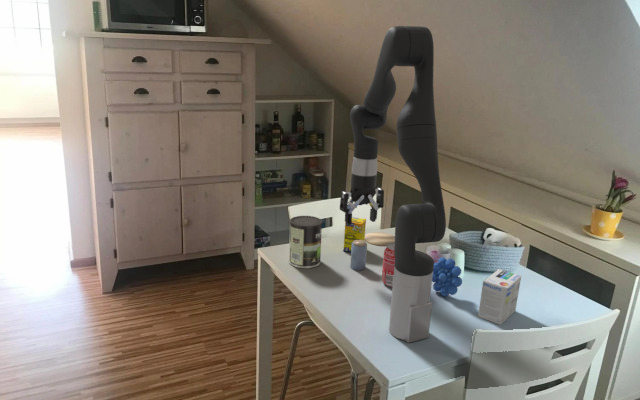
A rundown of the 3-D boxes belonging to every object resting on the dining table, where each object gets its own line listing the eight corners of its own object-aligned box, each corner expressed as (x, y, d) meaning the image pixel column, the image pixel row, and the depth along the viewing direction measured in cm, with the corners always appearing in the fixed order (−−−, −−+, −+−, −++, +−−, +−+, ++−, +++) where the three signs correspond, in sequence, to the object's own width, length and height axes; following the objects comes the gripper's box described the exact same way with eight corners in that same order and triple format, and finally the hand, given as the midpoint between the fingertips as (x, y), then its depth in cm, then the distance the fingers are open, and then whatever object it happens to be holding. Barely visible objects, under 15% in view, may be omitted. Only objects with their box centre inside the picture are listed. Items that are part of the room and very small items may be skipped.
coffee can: (322, 257, 175) (324, 216, 171) (317, 270, 166) (319, 227, 162) (292, 254, 177) (293, 214, 173) (285, 266, 167) (286, 224, 163)
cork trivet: (403, 243, 191) (403, 241, 190) (375, 247, 185) (375, 246, 185) (385, 231, 201) (385, 230, 201) (357, 235, 195) (357, 234, 195)
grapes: (469, 301, 150) (474, 262, 146) (452, 306, 147) (457, 266, 143) (440, 284, 159) (444, 247, 156) (423, 289, 156) (427, 251, 152)
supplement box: (343, 251, 181) (344, 221, 177) (347, 245, 186) (349, 216, 183) (360, 254, 179) (362, 223, 176) (364, 248, 185) (366, 218, 181)
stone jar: (368, 269, 168) (370, 243, 165) (355, 271, 166) (356, 245, 163) (360, 263, 172) (362, 238, 170) (347, 265, 170) (349, 240, 167)
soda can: (404, 279, 162) (408, 242, 158) (405, 289, 155) (409, 251, 152) (381, 277, 162) (384, 240, 159) (381, 287, 156) (384, 249, 152)
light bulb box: (492, 302, 150) (498, 267, 147) (516, 311, 146) (522, 275, 143) (476, 316, 142) (482, 280, 139) (501, 326, 138) (507, 288, 135)
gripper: (349, 176, 153) (346, 229, 158) (391, 173, 160) (386, 223, 165) (337, 170, 160) (334, 221, 165) (377, 167, 166) (373, 216, 171)
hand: (360, 222), depth 165 cm, fingers open, 8 cm apart
